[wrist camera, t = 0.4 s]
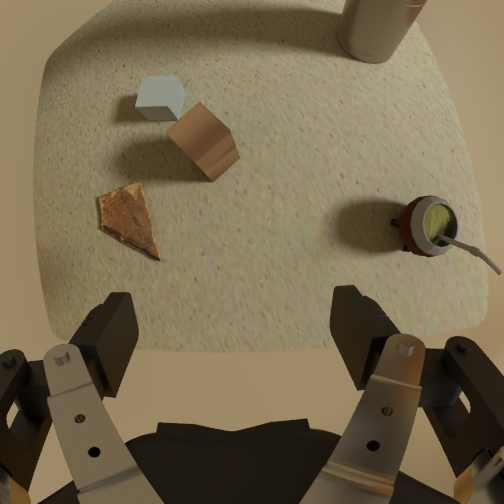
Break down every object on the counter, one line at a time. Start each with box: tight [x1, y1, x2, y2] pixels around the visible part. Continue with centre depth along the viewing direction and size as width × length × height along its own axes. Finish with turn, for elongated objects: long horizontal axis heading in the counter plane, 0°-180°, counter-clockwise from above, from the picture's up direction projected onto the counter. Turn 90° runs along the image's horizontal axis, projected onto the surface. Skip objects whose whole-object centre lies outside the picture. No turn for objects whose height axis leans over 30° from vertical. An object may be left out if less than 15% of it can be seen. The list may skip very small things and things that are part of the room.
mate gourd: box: [390, 196, 502, 275], centre depth 28 cm, size 8×8×15 cm
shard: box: [99, 182, 161, 261], centre depth 37 cm, size 11×8×2 cm
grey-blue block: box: [135, 75, 185, 121], centre depth 34 cm, size 4×4×5 cm
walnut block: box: [166, 102, 240, 182], centre depth 32 cm, size 4×4×10 cm
